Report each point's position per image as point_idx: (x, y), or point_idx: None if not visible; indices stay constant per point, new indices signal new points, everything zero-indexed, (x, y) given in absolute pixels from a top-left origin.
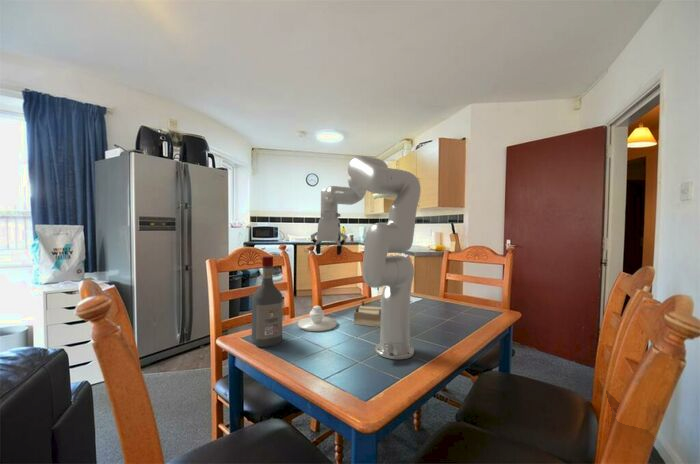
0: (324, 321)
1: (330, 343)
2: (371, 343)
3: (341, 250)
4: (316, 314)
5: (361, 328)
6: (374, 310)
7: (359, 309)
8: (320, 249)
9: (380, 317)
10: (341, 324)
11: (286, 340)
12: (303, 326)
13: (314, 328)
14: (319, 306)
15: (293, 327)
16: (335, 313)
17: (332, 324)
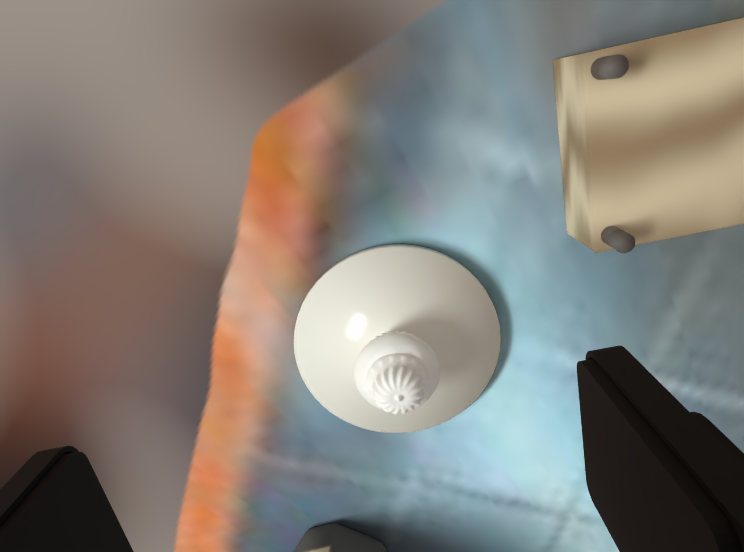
0: (423, 320)
1: (560, 475)
2: (719, 405)
3: (729, 444)
4: (416, 407)
5: (627, 270)
6: (717, 140)
7: (607, 174)
8: (21, 534)
9: None
10: (503, 269)
11: (390, 524)
12: (374, 424)
13: (435, 421)
14: (413, 392)
15: (315, 415)
16: (369, 102)
17: (485, 338)
